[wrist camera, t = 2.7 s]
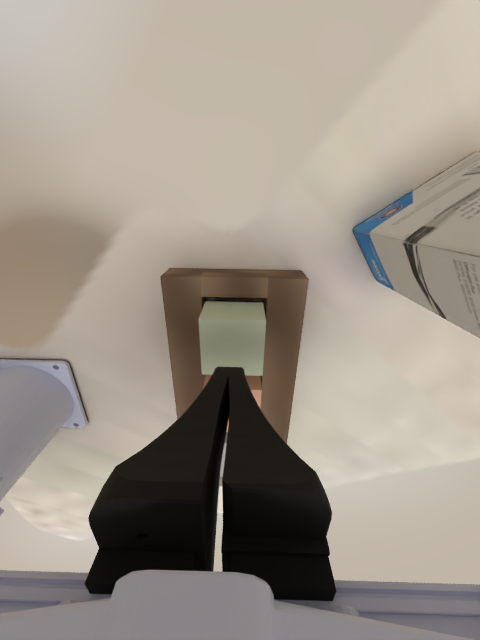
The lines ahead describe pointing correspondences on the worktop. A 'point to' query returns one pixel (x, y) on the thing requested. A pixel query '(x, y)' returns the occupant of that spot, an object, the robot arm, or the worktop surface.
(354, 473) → the worktop surface
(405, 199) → the ink box
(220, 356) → the pale green block
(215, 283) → the brown wooden long tray
